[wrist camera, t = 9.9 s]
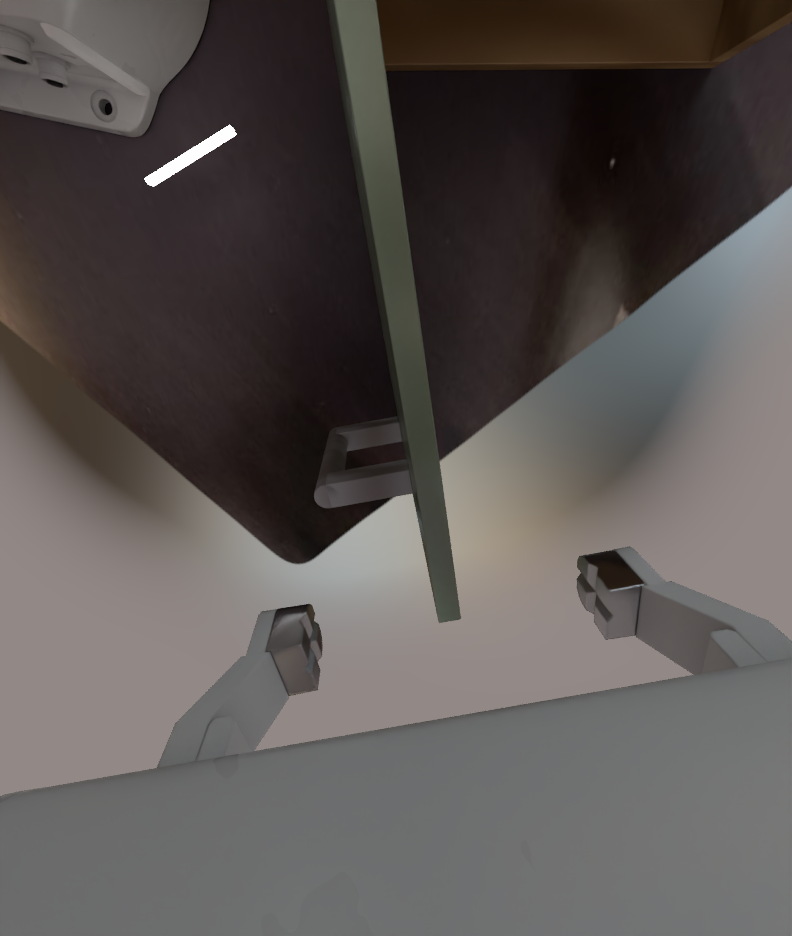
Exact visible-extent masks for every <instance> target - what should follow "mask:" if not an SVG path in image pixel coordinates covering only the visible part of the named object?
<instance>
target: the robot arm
mask: <svg viewBox="0 0 792 936" xmlns="http://www.w3.org/2000/svg"><path fill="white" fill-rule="evenodd" d="M209 2H210V0H0V110H4V111H9V112H14V113H19V114H23V115H28V116H33V117H38V118H42V119H47V120H52V121H57V122H61V123H66V124H71V125H76V126H80V127H85V128H90V129H95V130H99V131H104V132H109V133H114V134H118V135H123V136H128V137H139V136H141V135H143V134H144V133H145V132H146V130H147V129H148V127H149V125H150V123H151V120H152V118H153V115H154V112H155V109H156V105H157V102H158V98H159V95H160V93H161V92H162V90H163V89H164V88H165V86H166V85H167V84H168V83H169V82H170V81H171V80H172V79H173V78H174V77H175V76H176V75H177V74H178V73H179V72H180V70H181V69H182V68H183V67H184V66H185V64H186V63H187V62H188V60H189V59H190V57H191V56H192V54H193V52H194V50H195V49H196V46H197V44H198V42H199V40H200V37H201V35H202V32H203V29H204V26H205V22H206V18H207V13H208V8H209ZM107 103H111V105H112V109H113V110H112V113H111V114H110V115H106V113H105V105H106V104H107ZM235 135H237V134H236V132H235V130H234V129H233V128H232V127H231V126H230V125H229V126H227V127H226V128H224V129H222V130H221V131H219V132H218V133H216V134H214V135H213V136H211V137H210V138H208V139H207V140H205V141H203V142H202V143H200V144H199V145H197V146H195V147H194V148H192V149H191V150H189V151H187V152H186V153H184V154H183V155H181V156H179V157H178V158H176V159H175V160H173V161H172V162H170V163H168V164H167V165H165V166H164V167H162V168H160V169H159V170H157V171H156V172H154V173H152V174H151V175H149V176H148V177H146V178H144V179H145V181H146V183H147V184H149V185H151V186H155V185H157V184H158V183H160V182H162V181H163V180H165V179H166V178H168V177H170V176H171V175H173V174H174V173H176V172H178V171H179V170H181V169H182V168H184V167H186V166H187V165H189V164H190V163H192V162H194V161H195V160H197V159H199V158H200V157H202V156H203V155H205V154H207V153H208V152H210V151H211V150H213V149H215V148H216V147H218V146H219V145H221V144H223V143H224V142H226V141H227V140H229V139H231V138H232V137H234V136H235ZM577 567H578V569H579V570H580V572H581V574H580V575H579V577H578V578H577V590H578V594H579V597H580V600H581V602H582V604H583V605H584V607H585V609H586V610H587V611H589V612H591V613H593V614H594V622H595V624H596V625H597V627H598V629H599V630H600V632H601V633H602V635H603V636H604V638H605V639H606V640H608V639H614V638H621V637H627V636H635V635H636V637H637V638H639V639H640V640H642V641H643V642H645V643H646V644H648V645H649V646H651V647H652V648H654V649H655V650H657V651H659V652H660V653H661V654H663V655H664V656H666V657H668V658H669V659H671V660H672V661H674V662H675V663H677V664H678V665H680V666H681V667H683V668H684V669H686V670H687V671H689V672H690V673H692V674H694V675H691V676H685V677H679V678H674V679H668V680H662V681H657V682H651V683H645V684H639V685H633V686H628V687H622V688H616V689H610V690H605V691H599V692H593V693H587V694H581V695H576V696H570V697H564V698H558V699H553V700H547V701H541V702H535V703H530V704H524V705H518V706H512V707H506V708H501V709H495V710H489V711H484V712H477V713H472V714H466V715H460V716H455V717H449V718H443V719H437V720H432V721H426V722H420V723H414V724H408V725H403V726H397V727H391V728H385V729H380V730H374V731H368V732H362V733H357V734H351V735H345V736H339V737H333V738H328V739H322V740H316V741H310V742H305V743H299V744H293V745H288V746H282V747H276V748H270V749H264V750H259V751H254V750H255V749H256V747H257V746H258V744H259V743H260V741H261V740H262V738H263V737H264V735H265V734H266V732H267V730H268V729H269V728H270V726H271V725H272V723H273V721H274V720H275V718H276V717H277V715H278V714H279V712H280V711H281V709H282V708H283V706H284V705H285V703H286V702H287V700H288V699H289V696H291V695H296V694H301V693H305V692H311V691H316V690H318V684H319V676H320V668H319V665H318V660H319V659H320V658H321V656H322V636H321V630H320V627H319V624H317V623H316V622H315V621H314V616H315V612H314V610H313V607H312V605H310V604H306V605H300V606H294V607H286V608H280V609H277V610H269V611H262V612H261V613H260V614H259V616H258V619H257V623H256V625H255V628H254V631H253V635H252V638H251V641H250V644H249V647H248V651H247V654H246V656H243V657H241V658H240V659H239V660H238V661H237V662H235V663H234V664H233V665H232V667H231V668H230V669H229V670H228V671H227V672H226V673H225V674H224V675H223V676H222V677H221V678H220V679H219V680H218V681H217V682H216V683H215V684H214V685H213V686H212V687H211V688H210V689H209V690H208V691H207V692H206V693H205V694H204V695H203V696H202V697H201V698H200V699H199V700H198V701H197V702H196V703H195V704H194V705H193V706H192V707H191V708H190V709H189V710H188V711H187V712H186V713H185V714H184V715H183V716H182V717H181V718H180V719H179V721H177V722H176V723H175V726H174V728H173V730H172V733H171V735H170V738H169V740H168V742H167V745H166V747H165V750H164V752H163V754H162V757H161V759H160V761H159V764H158V767H157V768H155V769H149V770H143V771H138V772H132V773H127V774H120V775H115V776H109V777H103V778H97V779H92V780H86V781H80V782H74V783H69V784H63V785H58V786H52V787H45V788H38V789H33V790H26V791H19V792H15V793H10V794H6V795H2V796H0V936H792V641H791V640H790V639H789V638H788V637H786V636H785V635H784V634H783V633H782V632H781V631H780V630H778V629H777V628H776V627H775V626H774V625H773V624H771V623H770V622H769V621H768V620H766V619H763V618H760V617H757V616H756V615H753V614H751V613H748V612H746V611H743V610H741V609H738V608H736V607H733V606H731V605H729V604H726V603H723V602H721V601H719V600H716V599H714V598H711V597H709V596H707V595H704V594H702V593H699V592H696V591H694V590H692V589H689V588H687V587H684V586H682V585H679V584H677V583H675V582H672V581H670V582H666V581H665V580H664V579H663V578H662V577H661V576H660V575H659V574H658V573H657V572H656V571H655V570H654V569H653V568H652V567H651V566H650V565H649V564H648V563H647V562H646V561H645V560H644V559H643V558H642V557H641V556H640V555H639V554H638V553H637V552H636V551H635V550H634V549H633V548H631V547H625V548H619V549H614V550H612V551H606V552H600V553H594V554H589V555H583V556H579V558H578V562H577Z"/></svg>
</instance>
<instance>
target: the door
mask: <svg viewBox="0 0 792 936" xmlns="http://www.w3.org/2000/svg"><path fill="white" fill-rule="evenodd" d="M326 2H327V8H328V15H329V21H330V28H331V34H332V41H333V47H334V54H335V60H336V67H337V73H338V80H339V86H340V92H341V98H342V104H343V109H344V115H345V121H346V126H347V132H348V138H349V143H350V149H351V155H352V160H353V166H354V172H355V177H356V183H357V189H358V194H359V200H360V206H361V211H362V217H363V223H364V228H365V234H366V240H367V245H368V251H369V257H370V262H371V268H372V274H373V279H374V285H375V291H376V296H377V302H378V308H379V314H380V319H381V325H382V331H383V336H384V342H385V348H386V353H387V359H388V365H389V370H390V376H391V382H392V387H393V393H394V399H395V404H396V410H397V416H396V417H391V418H385V419H380V420H374V421H369V422H363V423H358V424H352V425H347V426H341V427H335V428H333V429H332V430H331V431H330V432H329V435H328V439H327V444H326V448H325V452H324V456H323V460H322V464H321V468H320V473H319V477H318V481H317V485H316V489H315V493H314V499H315V501H316V503H317V504H318V505H319V506H321V507H324V508H333V507H339V506H345V505H350V504H356V503H361V502H367V501H373V500H378V499H384V498H389V497H395V496H400V495H406V494H411V493H413V497H414V502H415V507H416V512H417V517H418V522H419V527H420V532H421V537H422V541H423V547H424V552H425V557H426V562H427V567H428V572H429V577H430V582H431V587H432V592H433V597H434V601H435V607H436V612H437V616H438V621H439V623H441V622H447V621H453V620H459V619H461V616H460V608H459V601H458V594H457V587H456V579H455V572H454V565H453V557H452V550H451V543H450V536H449V528H448V521H447V514H446V507H445V500H444V492H443V485H442V478H441V470H440V463H439V456H438V448H437V441H436V434H435V426H434V419H433V412H432V405H431V397H430V390H429V383H428V376H427V368H426V361H425V354H424V346H423V339H422V332H421V325H420V317H419V310H418V303H417V296H416V288H415V281H414V274H413V266H412V259H411V252H410V245H409V237H408V230H407V223H406V215H405V208H404V201H403V194H402V186H401V179H400V172H399V165H398V157H397V150H396V143H395V135H394V128H393V121H392V114H391V106H390V99H389V92H388V85H387V77H386V70H385V63H384V55H383V48H382V41H381V34H380V26H379V19H378V12H377V4H376V0H326ZM401 441H402V443H403V448H404V453H405V458H406V459H404V460H399V461H393V462H387V463H382V464H376V465H371V466H365V467H360V468H354V469H349V470H345V463H346V455H347V451H351V450H357V449H362V448H368V447H373V446H379V445H384V444H390V443H396V442H401Z"/></svg>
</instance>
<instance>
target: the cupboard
mask: <svg viewBox="0 0 792 936" xmlns="http://www.w3.org/2000/svg"><path fill="white" fill-rule="evenodd" d="M376 4H377V12H378V19H379V26H380V34H381V41H382V48H383V55H384V63H385V70H386V71H451V70H567V69H682V68H714V67H715V66H717V65H719V64H721V63H722V62H724V61H726V60H727V59H729V58H731V57H733V56H734V55H736V54H738V53H739V52H741V51H743V50H744V49H746V48H748V47H749V46H751V45H753V44H755V43H756V42H758V41H760V40H761V39H763V38H765V37H766V36H768V35H770V34H771V33H773V32H775V31H777V30H778V29H780V28H782V27H783V26H785V25H787V24H788V23H790V22H792V0H376Z"/></svg>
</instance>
